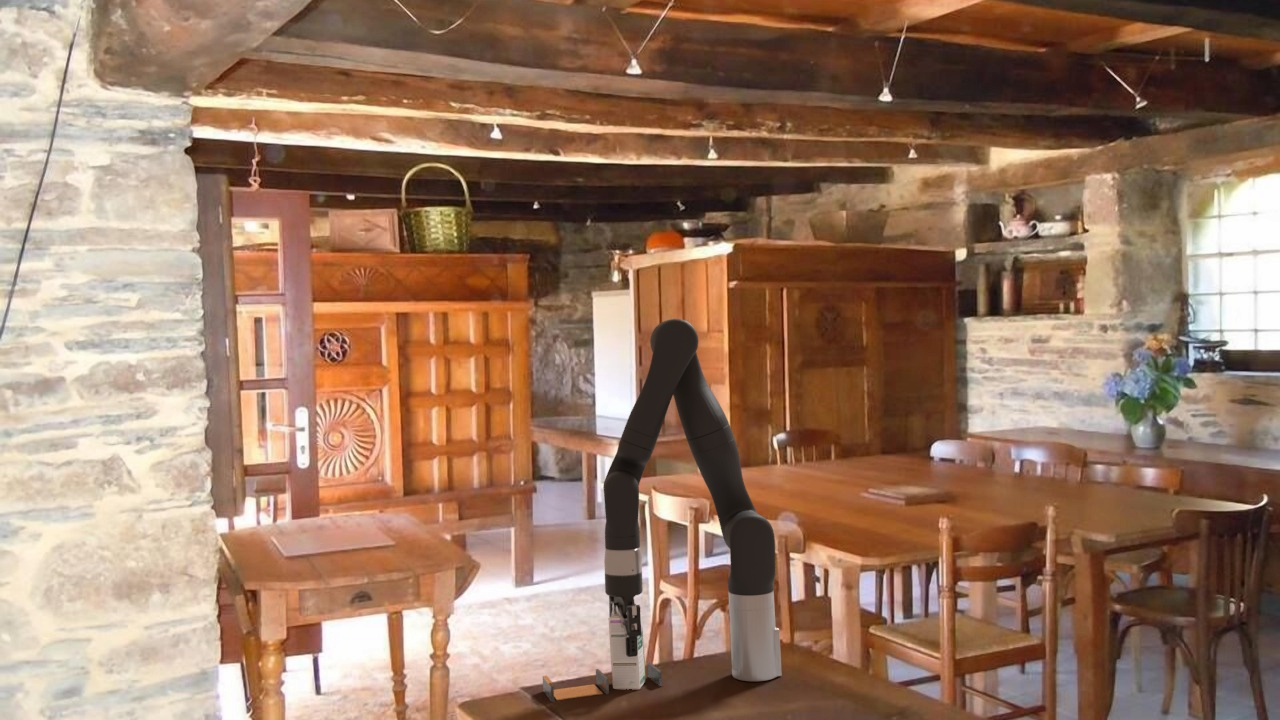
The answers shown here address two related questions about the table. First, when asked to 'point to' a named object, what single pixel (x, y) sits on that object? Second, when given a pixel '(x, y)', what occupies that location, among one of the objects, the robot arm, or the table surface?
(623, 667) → the syrup box
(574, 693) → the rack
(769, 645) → the robot arm
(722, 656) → the table surface
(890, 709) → the table surface
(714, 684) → the table surface
